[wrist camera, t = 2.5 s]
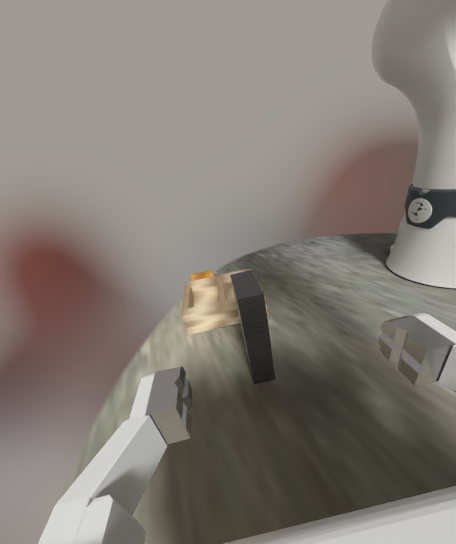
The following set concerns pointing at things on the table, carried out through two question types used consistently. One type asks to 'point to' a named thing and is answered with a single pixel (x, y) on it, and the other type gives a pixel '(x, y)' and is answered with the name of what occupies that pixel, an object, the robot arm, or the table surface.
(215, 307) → the wooden divided box
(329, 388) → the table surface
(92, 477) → the robot arm
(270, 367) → the block
